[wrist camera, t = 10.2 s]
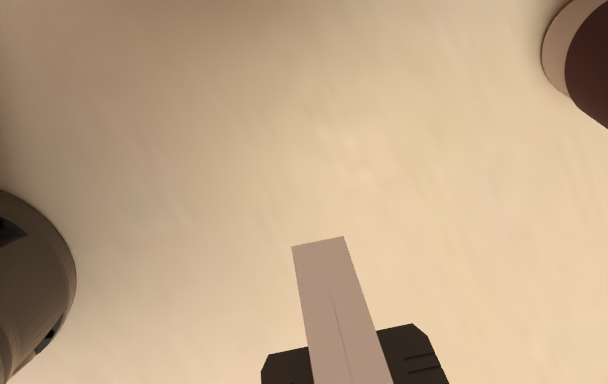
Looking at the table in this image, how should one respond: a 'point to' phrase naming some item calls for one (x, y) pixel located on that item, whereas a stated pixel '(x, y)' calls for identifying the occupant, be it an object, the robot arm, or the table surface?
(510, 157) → the table surface
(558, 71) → the coffee cup
